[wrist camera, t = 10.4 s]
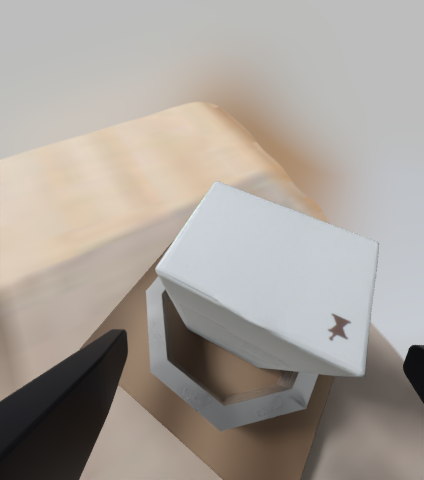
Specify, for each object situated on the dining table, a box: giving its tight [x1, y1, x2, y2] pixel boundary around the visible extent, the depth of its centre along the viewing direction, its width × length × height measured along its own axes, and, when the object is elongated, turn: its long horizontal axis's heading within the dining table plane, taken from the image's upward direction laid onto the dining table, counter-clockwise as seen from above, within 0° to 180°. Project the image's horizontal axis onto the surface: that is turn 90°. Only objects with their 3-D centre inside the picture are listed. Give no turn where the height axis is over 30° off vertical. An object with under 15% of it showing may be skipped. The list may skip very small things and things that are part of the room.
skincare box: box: [155, 181, 379, 377], centre depth 12 cm, size 6×4×12 cm
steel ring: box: [146, 277, 318, 432], centre depth 16 cm, size 12×12×3 cm
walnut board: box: [80, 242, 334, 480], centre depth 18 cm, size 16×16×1 cm
